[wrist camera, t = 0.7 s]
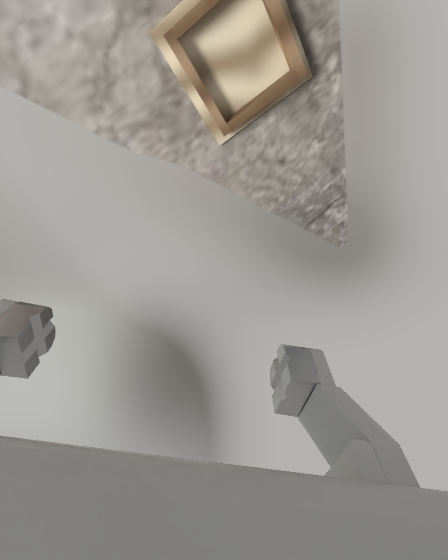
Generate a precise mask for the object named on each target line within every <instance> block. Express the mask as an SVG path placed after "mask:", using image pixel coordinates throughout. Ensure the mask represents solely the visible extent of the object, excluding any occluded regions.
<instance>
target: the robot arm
mask: <svg viewBox="0 0 448 560" xmlns="http://www.w3.org/2000/svg"><path fill="white" fill-rule="evenodd" d="M52 317H53V313H52V309H51V308H49V307H46V306H41V305H35V304H30V303H24V302H17V301H12V300H6V299H2V300H0V375H1V376H11V377H19V378H28V377H29V376H30V375H31V373H32V372H33V371H34V370H35V368H36V367H37V366H38V364H39V363H40V362H39V356H41V355H43V354H45V353H47V352H48V350H49V349H50V348H51V346H52V344H53V341H54V339H55V326H54V325H53V324H52V323H51V321H50V319H51V318H52ZM277 354H278V358H276V359H275V360H273V363H272V366H271V371H270V383H271V386H272V388H273V389H274V390H275V391H274V393H273V396H272V398H273V405H274V412H275V413H277V414H283V415H289V416H295V417H298V419H299V421H300V422H301V424H302V425H303V427H304V428H305V430H306V431H307V433H308V434H309V435H310V437H311V438H312V440H313V441H314V443H315V444H316V446H317V447H318V449H319V450H320V452H321V453H322V455H323V456H324V457H325V459H326V460H327V462H328V464H329V465H330V466H331V468H330V469H329V471H328V472H327V473H326V475H325V476H319V475H312V474H304V473H296V472H287V471H280V470H272V469H264V468H256V467H248V466H240V465H231V464H223V463H215V462H207V461H199V460H191V459H182V458H174V457H167V456H158V455H151V454H142V453H134V452H126V451H118V450H110V449H101V448H94V447H86V446H78V445H69V444H62V443H53V442H45V441H37V440H29V439H21V438H13V437H5V436H0V560H448V491H441V490H433V489H425V488H420V486H419V484H418V482H417V480H416V478H415V476H414V474H413V472H412V470H411V468H410V465H409V463H408V461H407V459H406V457H405V455H404V453H403V451H402V449H401V447H400V445H399V444H398V443H397V442H396V441H395V440H394V439H393V438H392V437H391V436H390V435H389V434H388V433H387V432H386V431H385V430H384V429H383V428H382V427H381V426H380V425H379V424H378V423H377V422H375V421H374V420H373V419H372V418H371V417H370V416H369V415H368V414H367V413H366V412H365V411H364V410H363V409H362V408H361V407H360V406H359V405H358V404H357V403H356V402H355V401H354V400H353V399H351V397H350V396H348V394H347V393H345V392H344V391H343V390H342V389H341V388H340V387H336V385H335V383H334V380H333V377H332V375H331V372H330V369H329V366H328V364H327V361H326V358H325V356H324V353H323V351H322V350H318V349H312V348H304V347H297V346H290V345H284V344H281V345H280V346H279V348H278V350H277Z"/></svg>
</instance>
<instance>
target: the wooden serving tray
mask: <svg viewBox="0 0 448 560" xmlns="http://www.w3.org/2000/svg"><path fill="white" fill-rule="evenodd" d="M149 33H150V35H151V36H152V38H153V39H154V41H155V43H156V44H157V46H158V47H159V49H160V51H161V52H162V54H163V55H164V57H165V59H166V60H167V62H168V63H169V65H170V67H171V68H172V70H173V72H174V73H175V75H176V76H177V78H178V80H179V81H180V83H181V84H182V86H183V88H184V89H185V91H186V92H187V94H188V96H189V97H190V99H191V100H192V102H193V104H194V105H195V107H196V108H197V110H198V112H199V113H200V115H201V116H202V118H203V120H204V121H205V123H206V124H207V126H208V128H209V129H210V131H211V132H212V134H213V136H214V137H215V139H216V140H217V142H218V144H219V145H221V144H223V143H224V142H225V141H227V140H228V139H229V138H231V137H232V136H233V135H235V134H236V133H237V132H239V131H240V130H241V129H243V128H244V127H246V126H247V125H248V124H250V123H251V122H252V121H254V120H255V119H256V118H258V117H259V116H260V115H262V114H263V113H264V112H266V111H267V110H268V109H270V108H271V107H272V106H274V105H275V104H277V103H278V102H279V101H281V100H282V99H283V98H285V97H286V96H287V95H289V94H290V93H291V92H293V91H294V90H295V89H297V88H298V87H299V86H301V85H302V84H303V83H305V82H306V81H308V80H309V79H310V78H312V77H313V75H312V72H311V70H310V67H309V64H308V61H307V58H306V56H305V53H304V50H303V47H302V44H301V42H300V39H299V36H298V33H297V30H296V28H295V25H294V22H293V19H292V16H291V14H290V11H289V8H288V5H287V2H286V0H183V1H182V2H181V3H179V4H178V5H177V6H176V7H175V8H174V9H173V10H172V11H171V12H170V13H169V14H168V15H167V16H166V17H165V18H163V19H162V20H161V21H160V22H159V23H158V24H157V25H156V26H155V27H154V28H153V29H152V30H151V31H150V32H149Z"/></svg>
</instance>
